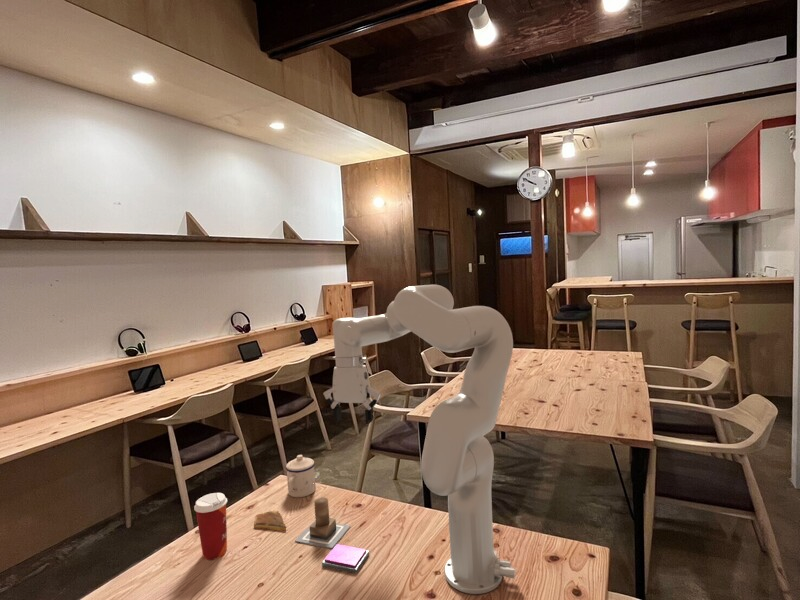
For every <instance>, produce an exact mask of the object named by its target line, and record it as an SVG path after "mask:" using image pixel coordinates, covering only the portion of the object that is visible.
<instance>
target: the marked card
mask: <svg viewBox="0 0 800 600" xmlns="http://www.w3.org/2000/svg"><path fill="white" fill-rule="evenodd" d="M312 524H313V522H312V523H311V524H310V525H309V526H308V527H307V528H306V529H305V530H304V531H303V532H302V533H301V534H300V535H299V536H298V537H297V538H296V539H295V540H294V542H295V543H299V542H300V544H304V545H310V546H315V547H320V548H326V549H331V550H332V549H333V548H334V547H335V546H336V545H337V544H338V543H339V542H340V541H341V540H342V538H343V537H344V535H346V533H347V531H348V530H349V529H350V528H351V525H350V524H343V523H337V522H336V530H335V531H334V532H333V533H332V535H331V536H330V537H329V538H328V539H327V540H324V539H319V538H313V537H310V526H311V525H312Z"/></svg>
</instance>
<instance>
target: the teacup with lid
mask: <svg viewBox="0 0 800 600" xmlns="http://www.w3.org/2000/svg"><path fill="white" fill-rule="evenodd" d="M285 470H286V478H287V480H286V481H287V491H288V495H289V496H290V497H293V498H305V497H307V496H310V495H312V494H313V493H314V492H315V491H316V474H315V461H314V460H313V459H312V458H310V457H305V456H303V454H298V455H297V456H296V458H294V459H292V460H290V461H288V463H286V465H285ZM313 483H314V484H313Z"/></svg>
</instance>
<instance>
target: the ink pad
mask: <svg viewBox="0 0 800 600" xmlns="http://www.w3.org/2000/svg"><path fill="white" fill-rule="evenodd" d="M369 555H370V551H369V550H367V549H364V548H360V547H355V546H349V545H344V544H338V543H337V544H336V545H335V546H334V547H333V549H331V550H330V552H329V553H328V554H327V555H326V556H325V558H324V559H323V560H322V561H321V567H323V568H329V569H333V570H337V571H342V572H347V573H352V574H358V572H359V570H360V569H361V567H362V566H363V565H364V563H365V562H366V560H367V559H368V557H369Z"/></svg>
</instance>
